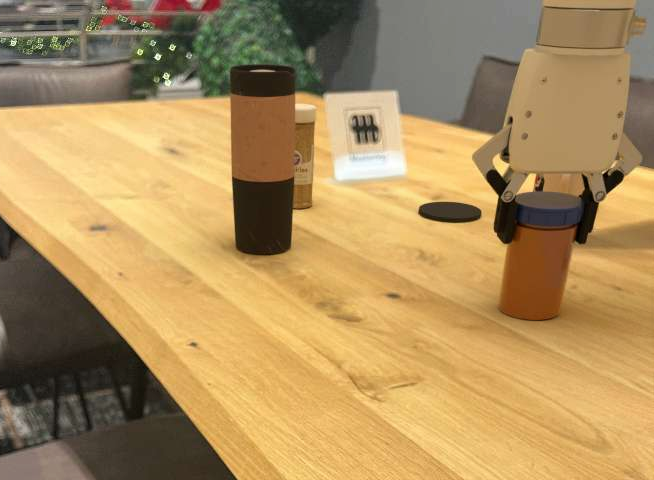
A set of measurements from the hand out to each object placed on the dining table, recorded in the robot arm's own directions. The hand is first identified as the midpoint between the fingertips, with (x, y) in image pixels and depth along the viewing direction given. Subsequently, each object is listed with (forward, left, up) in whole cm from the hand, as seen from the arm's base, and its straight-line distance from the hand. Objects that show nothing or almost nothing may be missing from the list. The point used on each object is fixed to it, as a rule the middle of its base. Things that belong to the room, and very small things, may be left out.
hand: (540, 238), depth 77 cm
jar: (0, 0, -7) cm, 7 cm away
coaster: (+1, -37, -7) cm, 38 cm away
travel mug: (+28, -21, -8) cm, 36 cm away
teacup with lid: (-16, -40, -8) cm, 44 cm away
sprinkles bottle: (+23, -41, -8) cm, 48 cm away
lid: (0, 0, +3) cm, 3 cm away
